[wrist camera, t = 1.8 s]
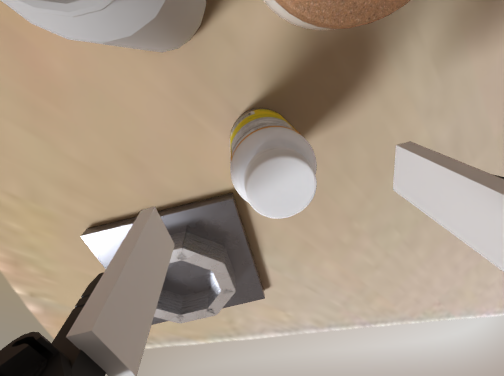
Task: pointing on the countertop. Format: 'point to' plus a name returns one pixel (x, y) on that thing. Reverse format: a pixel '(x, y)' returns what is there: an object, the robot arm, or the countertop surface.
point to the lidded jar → (333, 12)
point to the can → (117, 21)
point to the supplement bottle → (271, 164)
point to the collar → (194, 259)
